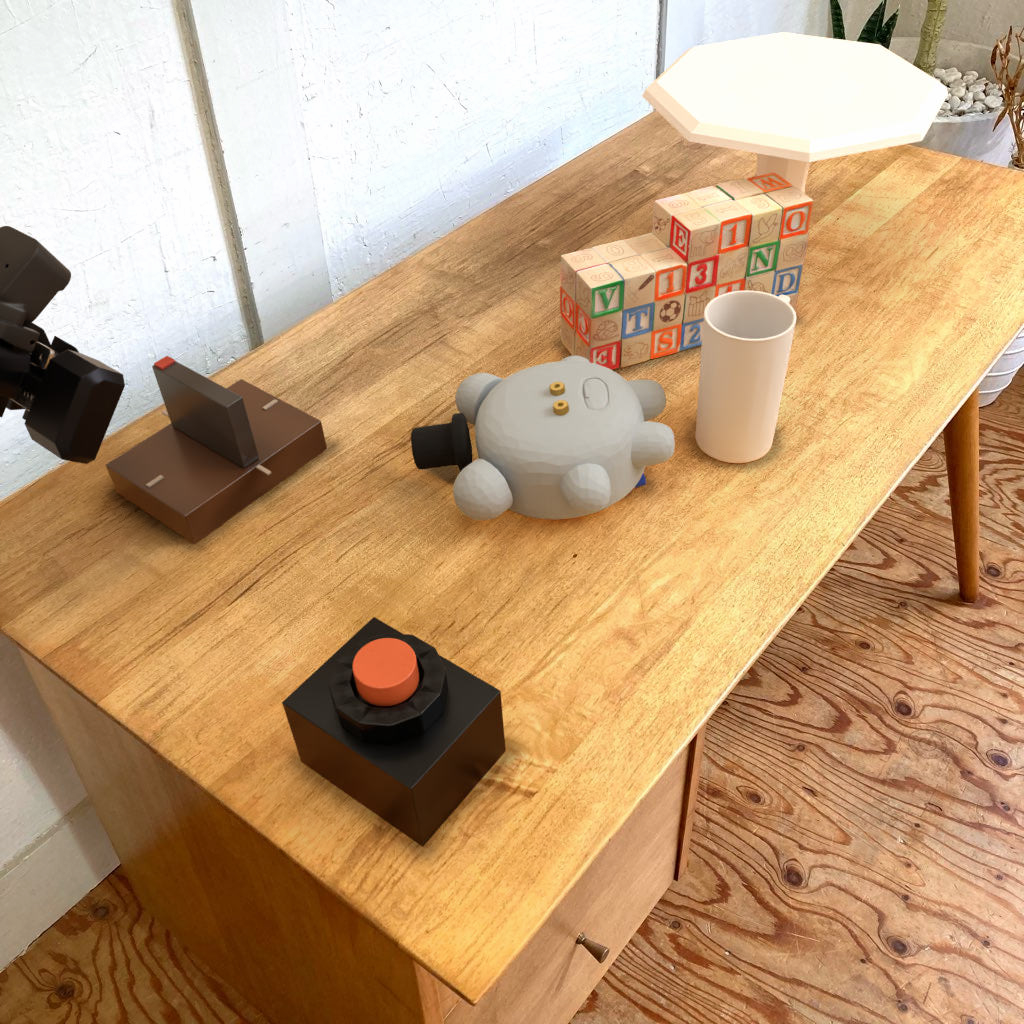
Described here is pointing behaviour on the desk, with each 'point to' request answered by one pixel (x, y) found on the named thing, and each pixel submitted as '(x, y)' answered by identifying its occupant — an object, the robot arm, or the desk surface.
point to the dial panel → (215, 466)
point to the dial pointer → (206, 411)
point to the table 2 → (796, 99)
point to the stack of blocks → (683, 269)
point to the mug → (742, 373)
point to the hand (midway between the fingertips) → (115, 395)
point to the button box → (399, 735)
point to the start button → (386, 672)
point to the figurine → (548, 440)
